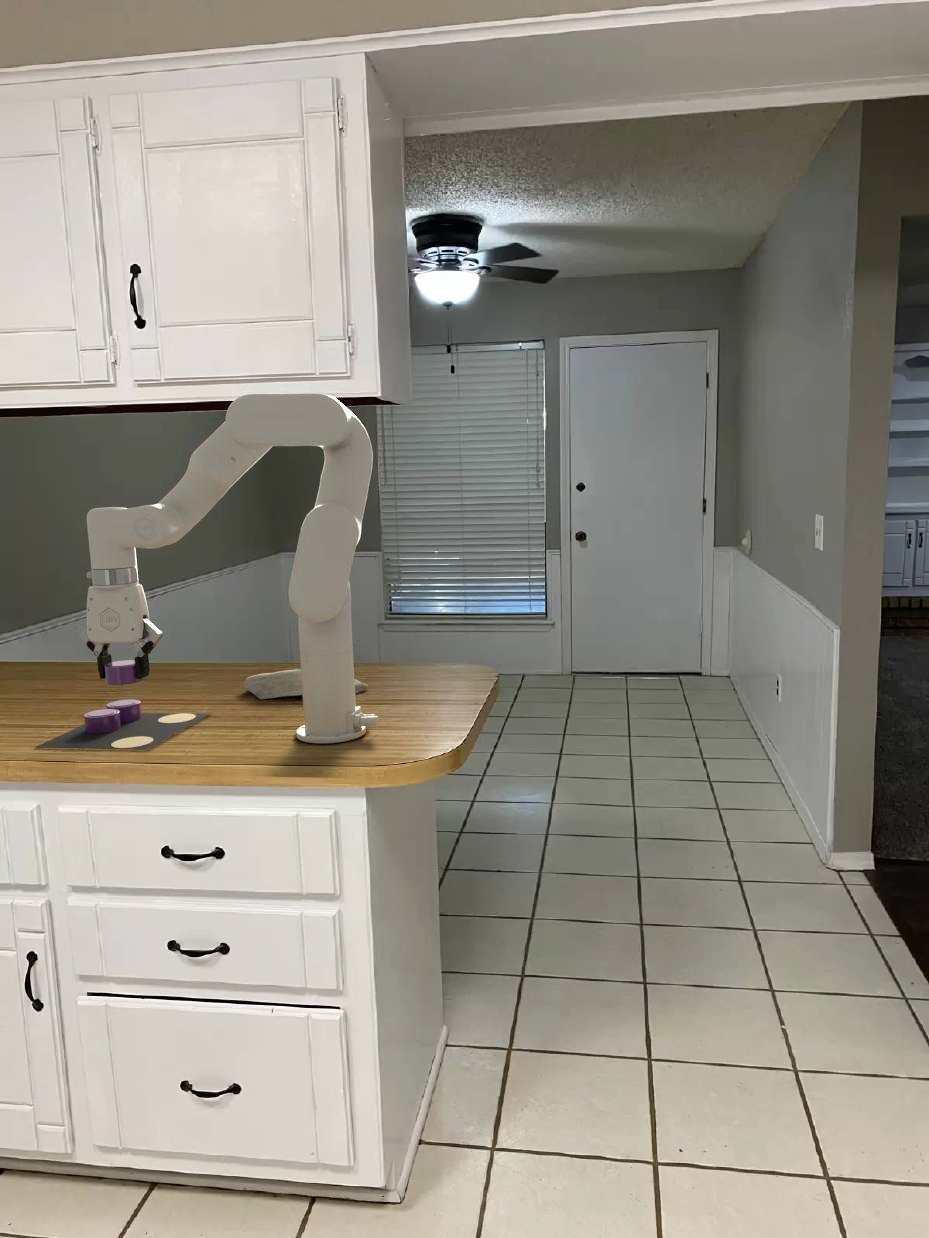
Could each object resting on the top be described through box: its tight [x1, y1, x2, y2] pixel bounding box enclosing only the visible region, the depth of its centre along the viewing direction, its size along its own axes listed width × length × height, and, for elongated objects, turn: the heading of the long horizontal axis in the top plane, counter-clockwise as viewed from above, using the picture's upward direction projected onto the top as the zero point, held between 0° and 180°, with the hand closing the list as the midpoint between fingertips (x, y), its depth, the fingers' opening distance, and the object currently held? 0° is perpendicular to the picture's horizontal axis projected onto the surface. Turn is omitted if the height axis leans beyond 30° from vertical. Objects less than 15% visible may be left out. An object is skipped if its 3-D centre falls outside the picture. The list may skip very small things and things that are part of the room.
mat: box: [36, 712, 210, 751], centre depth 172 cm, size 22×24×1 cm
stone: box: [242, 668, 369, 700], centre depth 199 cm, size 28×7×15 cm
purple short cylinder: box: [104, 659, 145, 686], centre depth 161 cm, size 6×6×3 cm
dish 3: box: [106, 698, 143, 723], centre depth 180 cm, size 6×6×3 cm
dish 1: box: [83, 708, 121, 734], centre depth 173 cm, size 6×6×3 cm
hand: (124, 676), depth 161 cm, fingers closed on purple short cylinder, 6 cm apart
